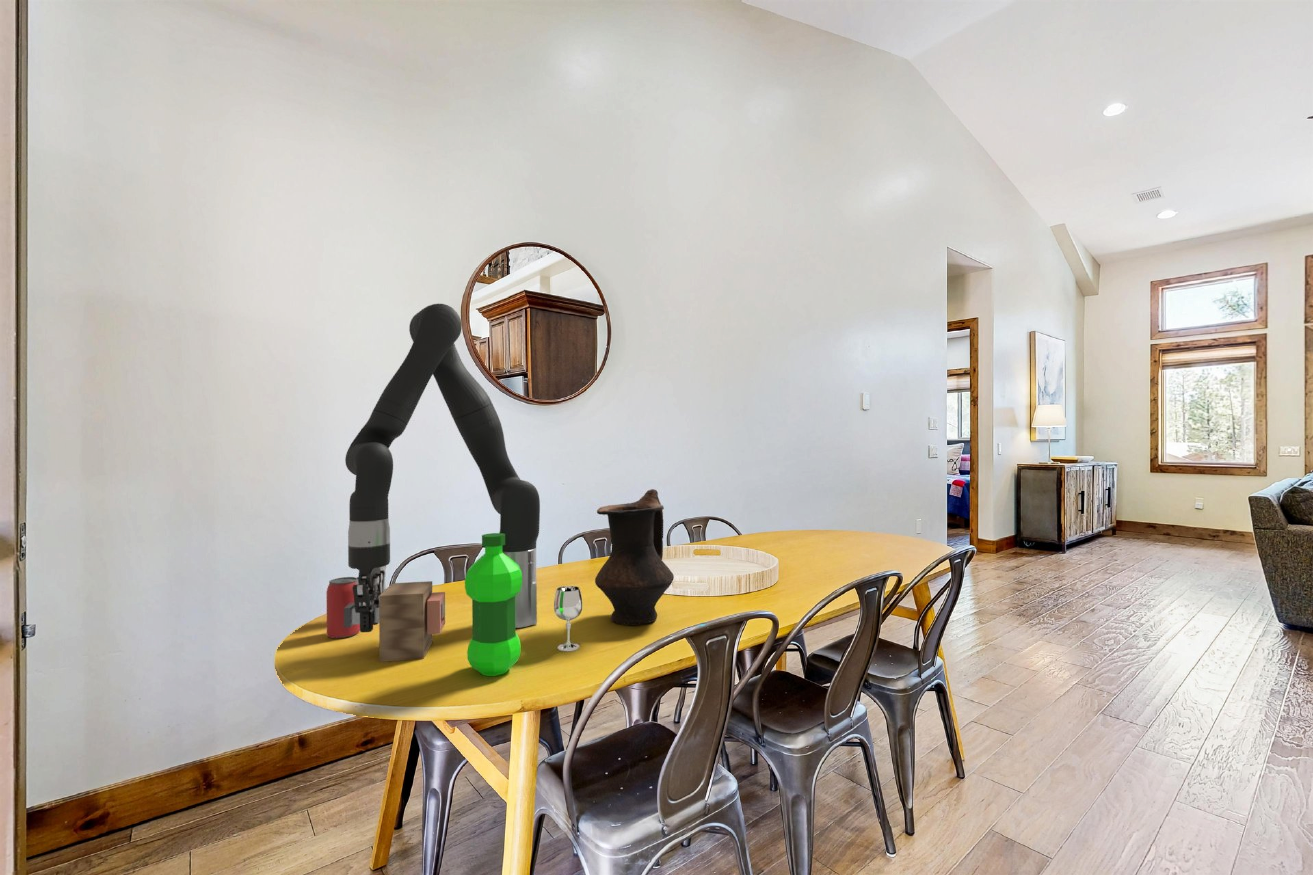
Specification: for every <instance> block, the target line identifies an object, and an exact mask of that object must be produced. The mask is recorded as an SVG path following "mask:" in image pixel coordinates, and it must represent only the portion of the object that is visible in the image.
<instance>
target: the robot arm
mask: <svg viewBox="0 0 1313 875" xmlns="http://www.w3.org/2000/svg"><path fill="white" fill-rule="evenodd" d="M462 324H463V323H462V320H461V317H460V315H459V314H458V311H456V310H455V309H454V308H453V307H451V306H450V305H449V304H445V303H432V304H430V305H428V306H426V307H424V308H422V309H421V310H419V311H418V312H417V313H415V315H413V316H412V318H411V320H410V322H409V329H408V330H409V331H408V332H409V335H410V338H411V340H412V345H411V346H410V349H409V350H408V352H407V355H406V357H404V360H403V362H402V363H401V365H400V366H399V368H398V369H397V370H396V372H395V373H394V375H393V376H392V377H391V379H390V380H389V382H388V383H387V384H386V386H385V388H384V389H383V391H382V392H381V394H380V396H379V398H378V401H377V402H376V404H375V406H374V408H373V409H372V412H371V414H370V415H369V418H368V420H367V421H366V423H365V424H364V425H363V427H361V429H360V430H359V432H358V433H357V435H356V436H355V437H354V439H353V440H352V442H351V443H350V445H349V447H348V448H347V451H346V453H345V457H344V458H345V459H344V460H345V466H346V468H347V470H348V471H349V472H350V473H351V474H353V476H355V485H354V487H355V488H354V491H353V492H352V493H351V494H350V497H349V506H348V508H349V513H348V514H349V525H348V531H347V540H348V541H347V549H348V550H347V553H348V555H347V556H348V557H347V560H348V562H347V563H348V564H347V566H348V568H350V569H354V570H358V576H357V577H356V578H357V579H356V585H353V588H352V589H353V595H354V604H355V612H356V613H360V631H359V633H371V632H372V631H373V630H374V626H376V625H379V623H373V610H374V608H373V605H374V604H379V596H380V595H381V594H382V593H383V588H384V574H385V571H384V570H380V567H383V566H386V567H387V566H388V565H389V564H390V562H391V528H390V527H391V526H390V522H389V521H390V520H389V519H390V518H389V493H390V490H391V485H392V479H393V475H394V474H393V472H394V459H393V455H392V452H391V450H390V449H389V448H390V446H391V445H392V444H393V442H394V440H396V439H397V438H399V437H400V436H402V435H403V433H404V432H405V430H406V428H407V426H408V424H409V422H410V420H411V418H412V417H413V414H414V411H415V410H416V408H417V406H418V404H419V402H420V399H421V398H422V396H423V393H424V391H425V389H426V387H427V385H428V383H429V382H430V380H431V378H432V376H433V377H434V379H435V381H436V384H437V387H438V389H439V392H440V393H441V395H442V398H443V400H444V402H445V404H446V406H447V408H448V411H449V413H450V415H451V417H452V419H453V421H454V424H455V426H456V428H457V430H458V432H459V434H460V436H461V438H462V439H463V441H464V444H465V445H466V446H465V447H466V448H467V449H468V451H469V453H470V455H471V457H472V458H473V460H474V462H475V464H476V465H477V468H478V470H479V471H480V474H481V476H482V479H483V481H484V484H485V488H486V490H487V493H488V497H489V499H490V501H491V502H490V503H491V504H492V507H493V508H494V510H495V511H496V512H497V513H498V514H499V515H500V518H499V519H500V522H499V532H498V533H503V534H505V545H502V553H504V554H505V555H506V556H508V557H509V558H511V559H512V560H513V561H514V562H515V563H516V564H517V565H519V567H520V570H521V572H522V586H521V591H520V592H519V593H518V594H517V595H516V596H515V629H519V628H525V627H529V626H530V627H531V626H532V625H537V623H538V621H537V620H538V618H537V617H538V607H537V605H538V600H537V597H538V596H537V594H538V593H537V590H538V587H537V583H538V582H537V581H538V580H537V542H538V537H539V534H540V520H541V519H540V517H541V515H540V514H541V513H540V512H541V501H540V494H539V491H538V489H537V488H536V486H535V485H534V484H533V483H531V482H530V481H527V480H523V479H521V478H520V476H519V474H517V471H516V469H515V467H514V466H513V464H512V463H511V460H510V458H509V455H508V452H507V449H506V448H507V446H506V442H505V436H504V434H505V433H504V430H503V426H502V423H501V420H500V418H499V414H498V413H497V411H496V409H495V407H494V404H493V402H492V400H491V398H490V396H489V394H488V392H486V390H485V389H484V388H483V387H482V386H481V384H480V383H479V381H477V380H476V379H475V377H474V376H473V375H472V374H471V373H470V372H469V370H468V369H467V368H466V366H465V365H464V363H463V360H462V359H461V357H460V354H459V352H458V349H457V347H456V344H455V343H456V341H457V340H458V339H459V337H460V335H461V333H462V329H463V328H462V326H463V325H462ZM377 588H378V589H377ZM363 602H365V603H366V606H363Z"/></svg>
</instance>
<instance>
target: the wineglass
mask: <svg viewBox="0 0 1313 875" xmlns="http://www.w3.org/2000/svg"><path fill="white" fill-rule="evenodd" d="M555 590H556V591H555V593H554V601H553V610H554V614H555V616H556V617H557V618H558V619H560V620H562V621H566V623H565V628H566V631H567V632H566V633H567V636H566V638H567V639H566V642H565V643H561V644H559V645H558V646H557V650H558V651H560V652H574V651H576V650H578V649H579V648H580V645H579V644H578V643H572V642H571V640H570V631H571V626H572V624H571V621H573V620H575V619H576V618H578V617H579V616H580V615H581V614H582V611H583V597H582V592H581V589H580V587H579V586H575V585H563V586H560V587H557V588H556V589H555Z"/></svg>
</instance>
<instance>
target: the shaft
mask: <svg viewBox="0 0 1313 875" xmlns="http://www.w3.org/2000/svg"><path fill="white" fill-rule="evenodd" d="M363 606H366V605H363ZM373 608H374V610H373V623H378V624H379V604H374V605H373ZM444 615H445V616H446V599H445V600H443V602H442V604H441V619H443V617H444ZM426 620H427V601H426ZM354 624H360V613H356V612H355V604H354V603H349V604H348V605H347V606H346V607H345V608H344V628H348V627H351V626H352V625H354Z"/></svg>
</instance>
